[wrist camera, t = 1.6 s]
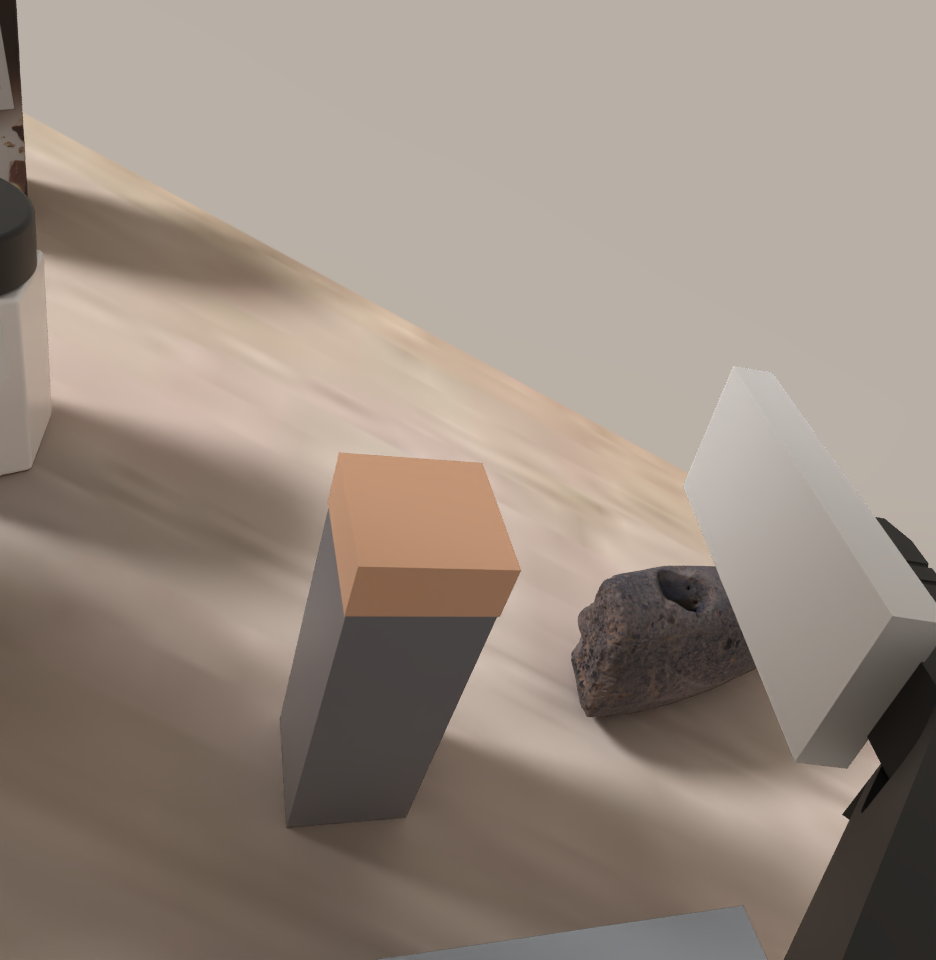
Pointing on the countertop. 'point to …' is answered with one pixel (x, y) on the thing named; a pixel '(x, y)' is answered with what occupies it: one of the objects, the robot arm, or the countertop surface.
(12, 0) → the coffee box
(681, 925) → the socket
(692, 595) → the perforated stone tool
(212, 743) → the countertop surface
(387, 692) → the plug
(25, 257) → the jar
